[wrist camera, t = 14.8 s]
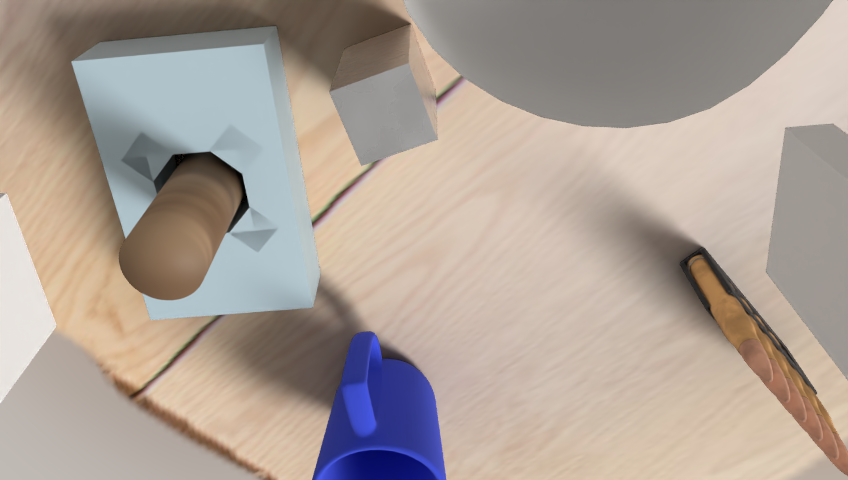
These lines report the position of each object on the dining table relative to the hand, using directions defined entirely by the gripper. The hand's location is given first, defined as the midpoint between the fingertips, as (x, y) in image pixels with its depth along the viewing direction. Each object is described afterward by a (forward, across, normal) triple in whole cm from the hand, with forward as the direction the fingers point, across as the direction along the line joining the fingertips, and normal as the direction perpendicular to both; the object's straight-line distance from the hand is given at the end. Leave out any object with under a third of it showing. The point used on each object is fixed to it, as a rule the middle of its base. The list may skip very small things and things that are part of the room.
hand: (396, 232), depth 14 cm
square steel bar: (+32, -2, -6) cm, 32 cm away
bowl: (+32, +9, +4) cm, 33 cm away
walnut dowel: (+32, -13, -11) cm, 36 cm away
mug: (+32, -5, -27) cm, 42 cm away
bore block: (+32, -13, -11) cm, 36 cm away
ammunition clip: (+32, +19, -24) cm, 44 cm away
